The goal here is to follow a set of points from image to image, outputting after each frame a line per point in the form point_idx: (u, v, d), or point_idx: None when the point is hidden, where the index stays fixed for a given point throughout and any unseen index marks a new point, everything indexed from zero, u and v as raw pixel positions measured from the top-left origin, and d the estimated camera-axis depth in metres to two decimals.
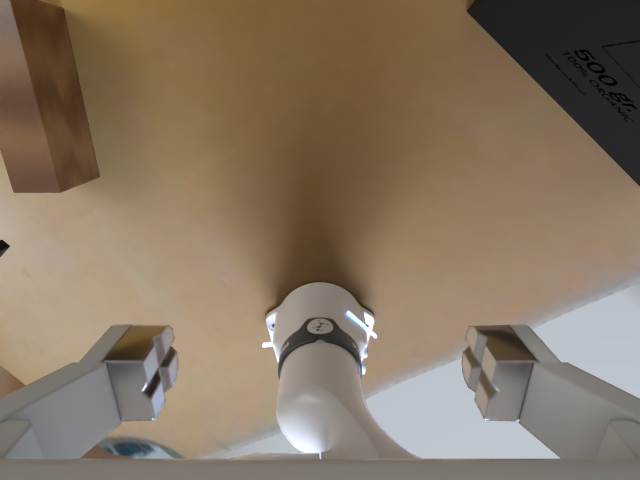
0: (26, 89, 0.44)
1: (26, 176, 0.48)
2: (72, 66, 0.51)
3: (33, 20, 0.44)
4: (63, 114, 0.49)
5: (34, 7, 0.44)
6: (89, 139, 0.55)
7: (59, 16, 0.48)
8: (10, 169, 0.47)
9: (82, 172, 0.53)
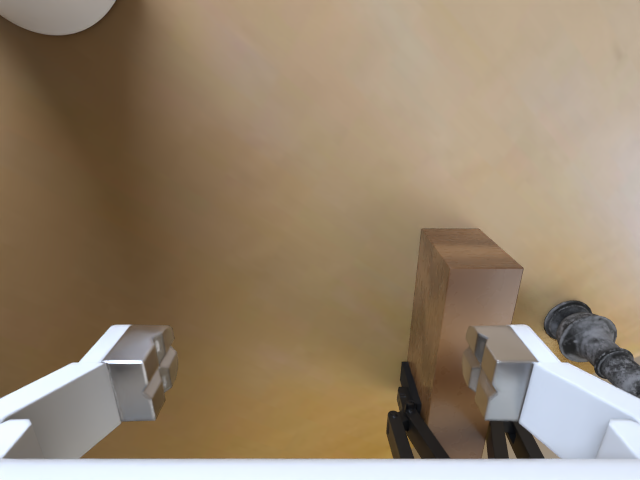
0: (441, 386, 0.35)
1: (492, 290, 0.32)
2: (409, 352, 0.44)
3: None
4: (424, 332, 0.38)
5: None
6: (417, 279, 0.41)
7: None
8: (511, 299, 0.32)
9: (429, 257, 0.36)
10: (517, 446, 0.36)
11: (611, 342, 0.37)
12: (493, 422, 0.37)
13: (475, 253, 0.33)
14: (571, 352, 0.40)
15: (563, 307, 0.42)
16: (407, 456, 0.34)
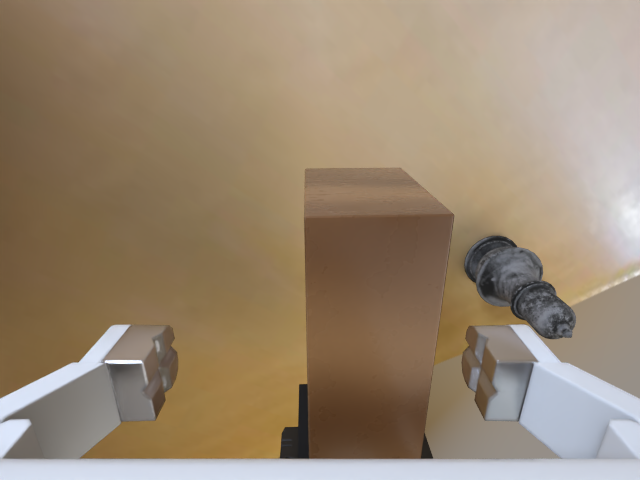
0: (324, 440, 0.20)
1: (396, 262, 0.16)
2: None
3: None
4: None
5: None
6: None
7: None
8: (434, 279, 0.16)
9: None
10: None
11: (531, 276, 0.31)
12: None
13: (372, 195, 0.18)
14: (490, 294, 0.34)
15: (484, 243, 0.36)
16: None
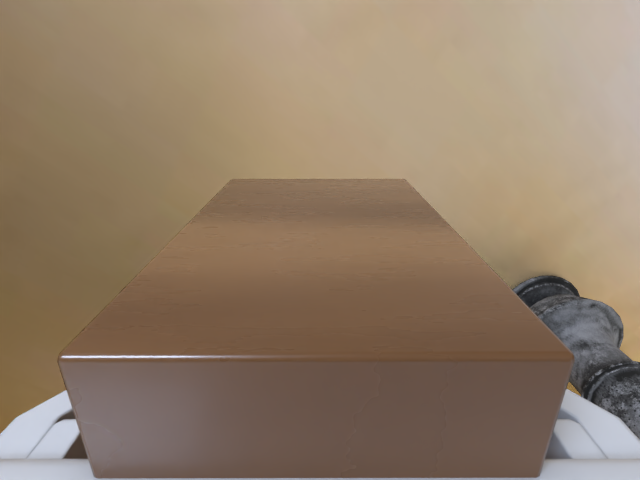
0: None
1: None
2: None
3: None
4: None
5: None
6: None
7: None
8: None
9: None
10: None
11: (614, 348, 0.20)
12: None
13: (325, 254, 0.07)
14: None
15: (530, 287, 0.25)
16: None
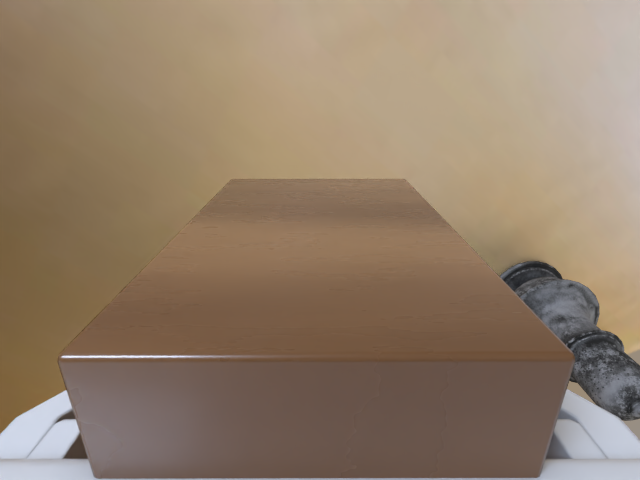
0: None
1: None
2: None
3: None
4: None
5: None
6: None
7: None
8: None
9: None
10: None
11: (587, 321, 0.22)
12: None
13: (325, 254, 0.07)
14: None
15: (518, 271, 0.27)
16: None
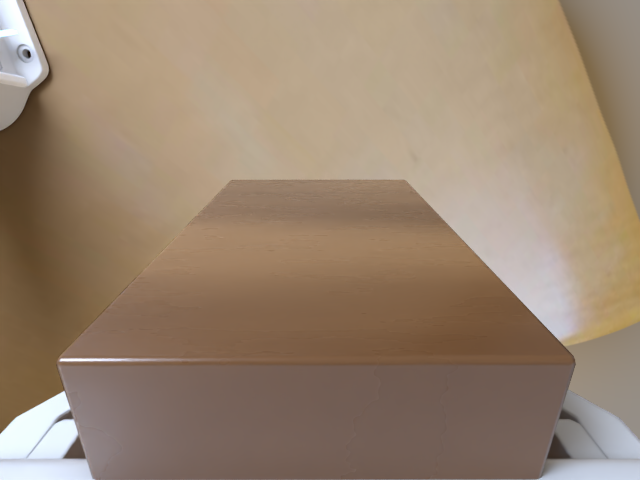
0: None
1: None
2: None
3: None
4: None
5: None
6: None
7: None
8: None
9: None
10: None
11: None
12: None
13: (325, 255, 0.07)
14: None
15: None
16: None
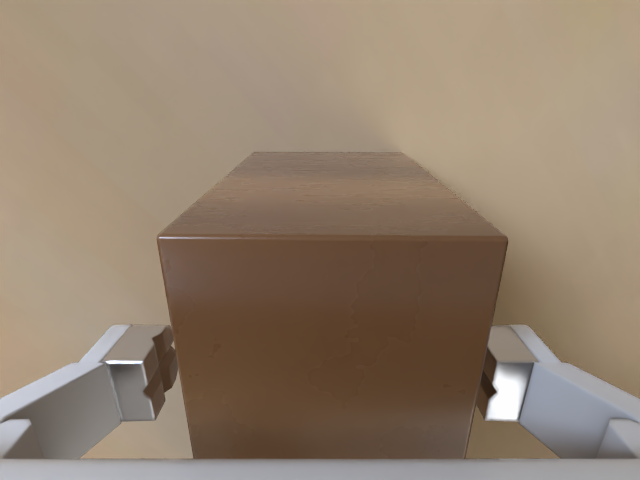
0: None
1: (373, 340, 0.07)
2: None
3: None
4: None
5: None
6: None
7: None
8: (456, 376, 0.07)
9: None
10: None
11: None
12: None
13: (335, 193, 0.09)
14: None
15: None
16: None
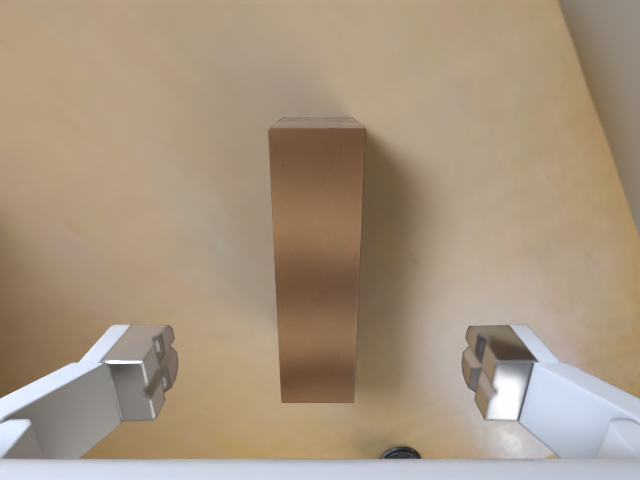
0: (287, 301, 0.28)
1: (329, 162, 0.24)
2: None
3: None
4: None
5: None
6: None
7: None
8: (355, 175, 0.24)
9: None
10: None
11: None
12: None
13: (319, 124, 0.26)
14: None
15: (393, 453, 0.46)
16: None
